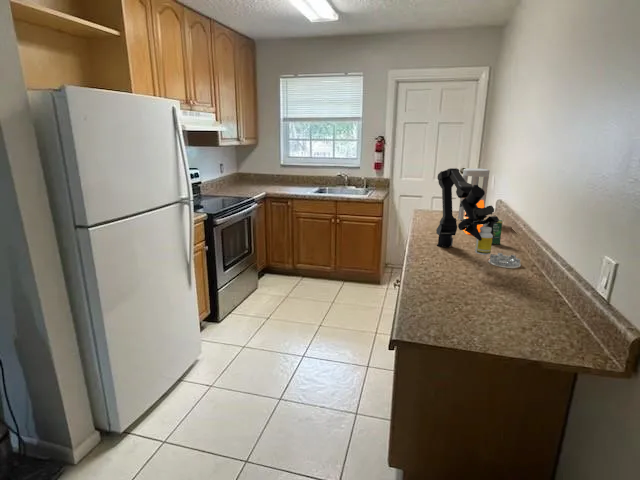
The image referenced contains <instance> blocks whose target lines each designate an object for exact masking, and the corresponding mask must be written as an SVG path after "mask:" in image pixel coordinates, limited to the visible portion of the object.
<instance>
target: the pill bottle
mask: <svg viewBox="0 0 640 480" xmlns="http://www.w3.org/2000/svg"><path fill="white" fill-rule="evenodd" d="M491 230H492V228H490V227H485V226H482V227H480V232H479V233H480V236H481V238H482V240H481V241H479V240H478V239H477V238H475V239H476V241H475V247H474V252H475V253H476V254H477V255H483V256H488V255H491V254H492V253H491V252H492V251H491V250H492V245H493V244H492V239H493V235H492V234H491V233H490V232H491Z"/></svg>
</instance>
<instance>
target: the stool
mask: <svg viewBox="0 0 640 480" xmlns="http://www.w3.org/2000/svg"><path fill="white" fill-rule="evenodd" d="M489 176H490V170H489V169H486V168H477V167H476V168H474V167H473V168H472V167H471V168H468V167H467V168H464V169H463V172H462V177H463V178H464V180H465V181H466V182H467V183H468V178H469V177H471V181H470V184H471V185H472V186H473V185H478V186H479V182H480V181H479V180H480V178H482V187H481V188H482V189H483V190H484V191H485V195H484V196H483V197H482V199H481V200H484V208H485V207H486V200H487V193H488V186H489V178H490V177H489ZM463 199H465V198H459V204H460V203H461V201H463ZM458 207H459V208H458V217H457V220H458V219H460V220H463V219H464V214H465V210H464V208H463V207H460V205H459V206H458Z"/></svg>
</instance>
